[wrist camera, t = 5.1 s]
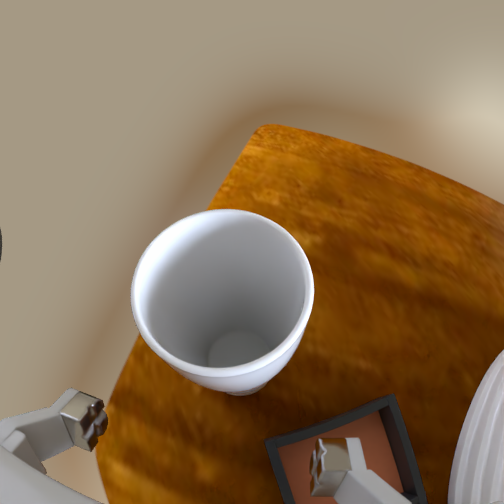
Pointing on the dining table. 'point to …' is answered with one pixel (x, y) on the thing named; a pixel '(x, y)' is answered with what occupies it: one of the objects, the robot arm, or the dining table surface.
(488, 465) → the plate stack
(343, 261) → the dining table surface
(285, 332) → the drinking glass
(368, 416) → the socket pad
